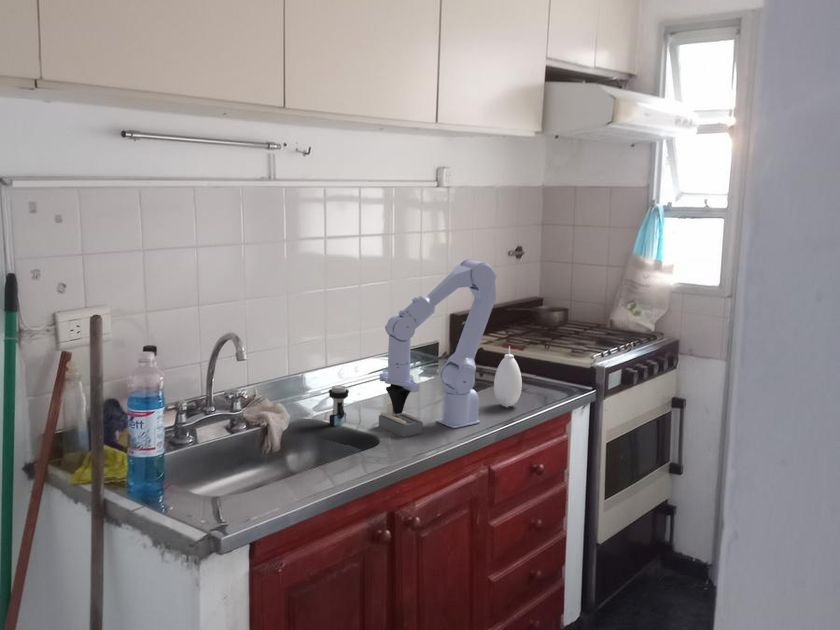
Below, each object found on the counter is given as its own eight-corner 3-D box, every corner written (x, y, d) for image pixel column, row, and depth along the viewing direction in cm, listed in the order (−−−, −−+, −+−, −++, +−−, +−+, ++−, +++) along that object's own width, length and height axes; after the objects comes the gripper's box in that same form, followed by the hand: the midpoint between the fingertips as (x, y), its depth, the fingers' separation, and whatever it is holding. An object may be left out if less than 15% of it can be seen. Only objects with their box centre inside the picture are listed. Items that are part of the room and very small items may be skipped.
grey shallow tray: (397, 422, 218) (397, 408, 218) (422, 433, 210) (422, 418, 209) (378, 426, 215) (378, 411, 214) (403, 437, 206) (404, 422, 206)
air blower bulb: (525, 408, 235) (528, 347, 232) (504, 411, 231) (506, 349, 228) (509, 401, 242) (512, 342, 239) (488, 404, 238) (490, 344, 235)
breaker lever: (394, 412, 216) (394, 401, 215) (399, 414, 214) (400, 403, 214) (386, 414, 214) (386, 402, 214) (392, 416, 213) (392, 404, 212)
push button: (339, 418, 221) (339, 382, 219) (355, 421, 218) (355, 385, 217) (324, 424, 215) (324, 387, 214) (340, 427, 213) (341, 390, 211)
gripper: (370, 358, 213) (369, 408, 216) (403, 369, 202) (402, 422, 204) (392, 355, 218) (391, 404, 220) (425, 366, 206) (424, 418, 209)
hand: (398, 413), depth 212 cm, fingers closed
